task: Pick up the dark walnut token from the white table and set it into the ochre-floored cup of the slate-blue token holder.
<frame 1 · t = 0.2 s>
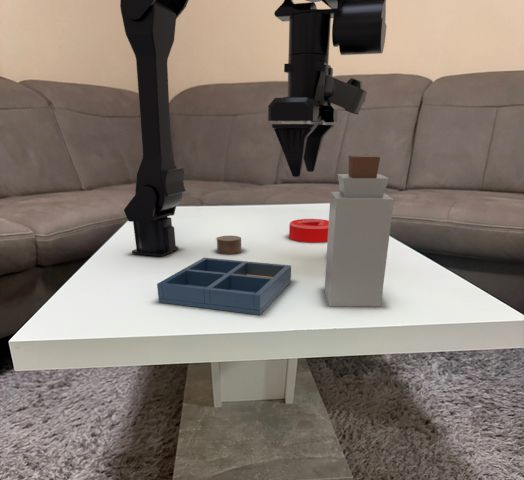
hand: (303, 174, 72), 15 cm above the table, tool pointing down, fingers open, 9 cm apart
holder: (228, 291, 65), on the table
perfume bottle: (351, 299, 63), on the table
token: (229, 251, 86), on the table
red ring: (311, 238, 98), on the table
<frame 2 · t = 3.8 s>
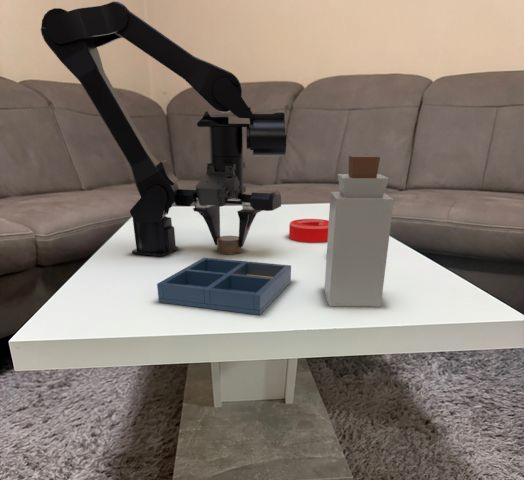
hand: (229, 246, 86), 1 cm above the table, tool pointing down, fingers closed on token, 4 cm apart
token: (229, 251, 86), on the table, touching gripper
everything else where it was.
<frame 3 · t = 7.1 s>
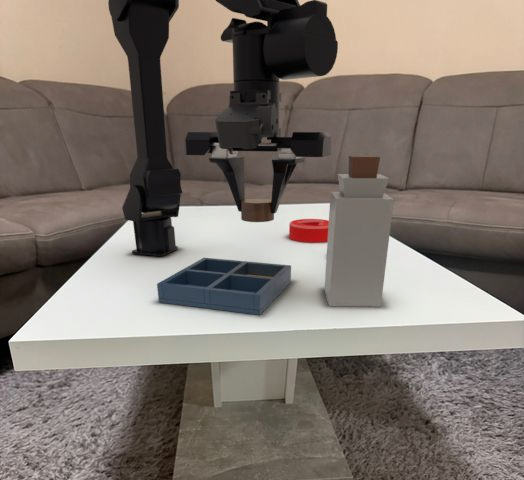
hand: (257, 212, 63), 11 cm above the table, tool pointing down, fingers closed on token, 4 cm apart
token: (257, 219, 64), point 10 cm above the table, touching gripper
everything else where it was.
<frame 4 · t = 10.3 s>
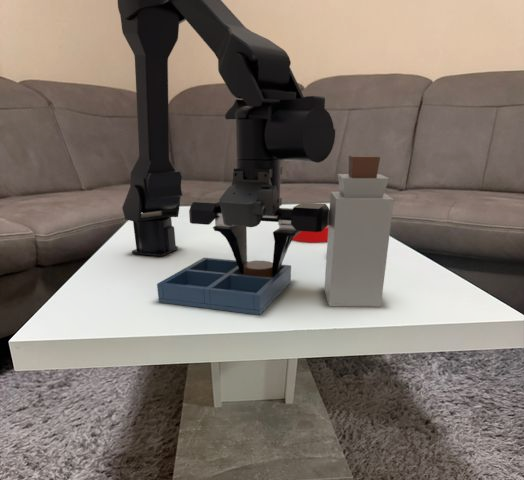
hand: (258, 274, 66), 2 cm above the table, tool pointing down, fingers closed on token, 4 cm apart
token: (259, 281, 67), point 1 cm above the table, touching gripper
everything else where it was.
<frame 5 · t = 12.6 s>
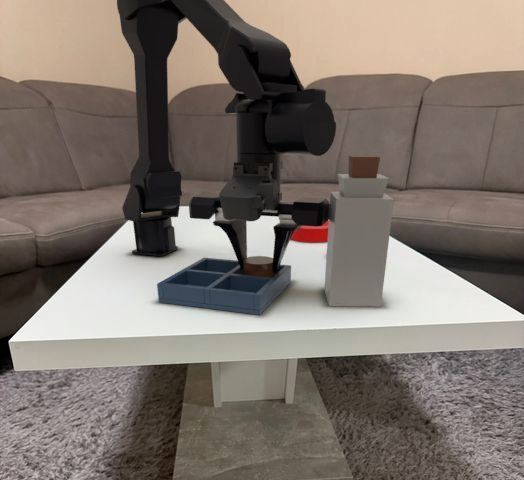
hand: (259, 270, 66), 3 cm above the table, tool pointing down, fingers closed on token, 4 cm apart
token: (259, 276, 66), point 2 cm above the table, touching gripper
everything else where it was.
when the fingers open (3 cm above the table, at t = 14.6 s): token drops 1 cm, resting on holder.
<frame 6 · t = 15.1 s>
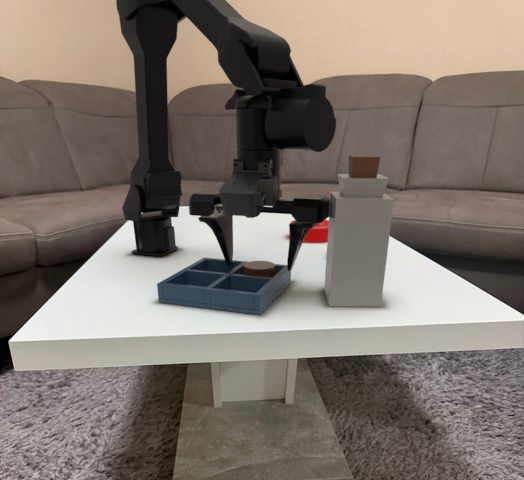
hand: (259, 267, 66), 3 cm above the table, tool pointing down, fingers open, 9 cm apart
token: (259, 281, 67), point 1 cm above the table, touching holder
everything else where it was.
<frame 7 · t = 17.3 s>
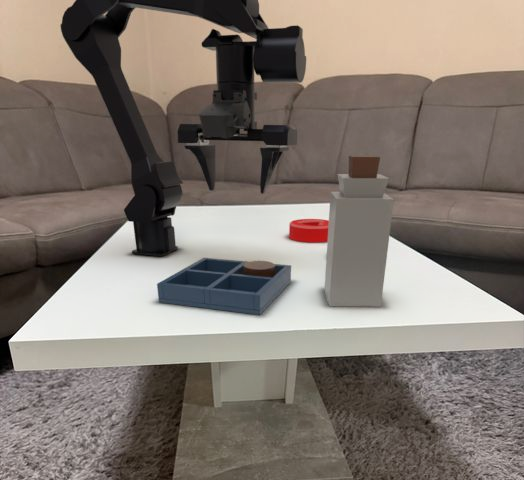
hand: (236, 191, 76), 11 cm above the table, tool pointing down, fingers open, 9 cm apart
nothing on the table moved.
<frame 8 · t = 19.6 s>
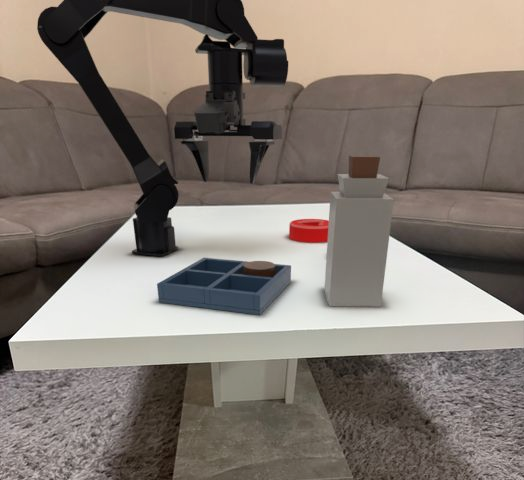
hand: (228, 182, 84), 12 cm above the table, tool pointing down, fingers open, 9 cm apart
nothing on the table moved.
at the end: token 0.1 cm from the target spot in the holder, point 0.8 cm above the holder's base; token tilted 0°; the gripper is holding nothing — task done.
